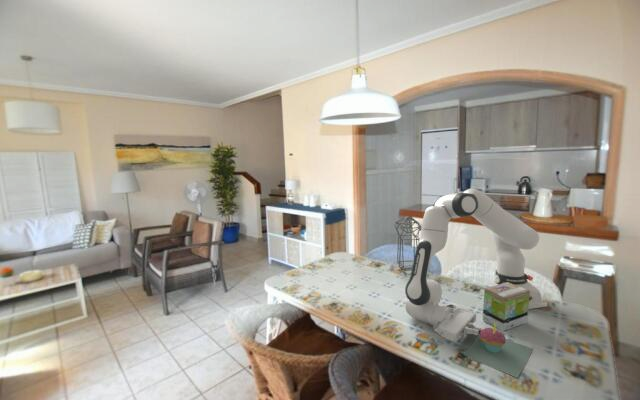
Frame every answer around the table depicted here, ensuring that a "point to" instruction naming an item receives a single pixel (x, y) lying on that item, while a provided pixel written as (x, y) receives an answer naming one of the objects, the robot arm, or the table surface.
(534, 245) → the robot arm
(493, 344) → the cupcake
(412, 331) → the table surface
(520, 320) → the tea box
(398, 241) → the geometric lantern
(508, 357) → the mat
